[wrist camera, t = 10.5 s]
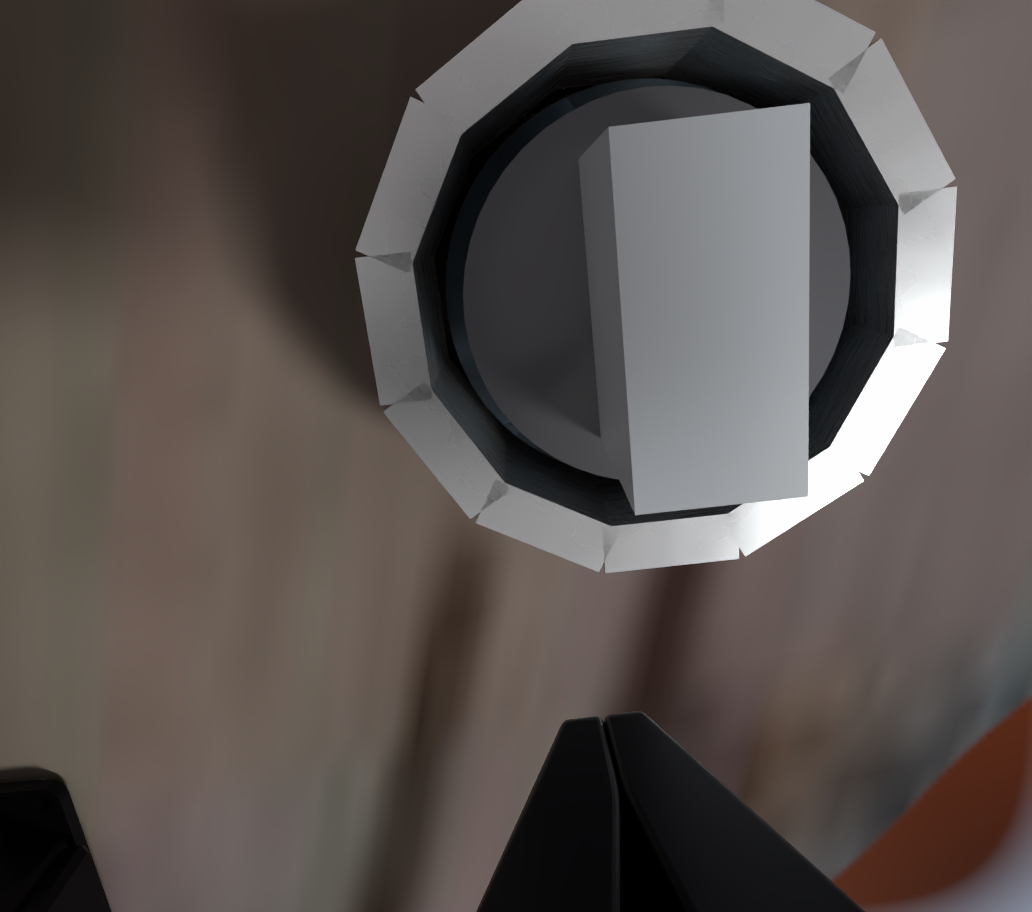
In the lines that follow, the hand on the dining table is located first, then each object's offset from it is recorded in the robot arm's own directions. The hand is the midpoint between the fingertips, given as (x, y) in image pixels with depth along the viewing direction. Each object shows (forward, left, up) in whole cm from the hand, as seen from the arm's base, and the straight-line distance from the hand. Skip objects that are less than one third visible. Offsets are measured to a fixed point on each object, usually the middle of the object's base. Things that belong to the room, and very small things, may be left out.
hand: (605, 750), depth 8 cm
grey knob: (+2, +4, -9) cm, 10 cm away
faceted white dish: (+2, +4, -11) cm, 12 cm away
